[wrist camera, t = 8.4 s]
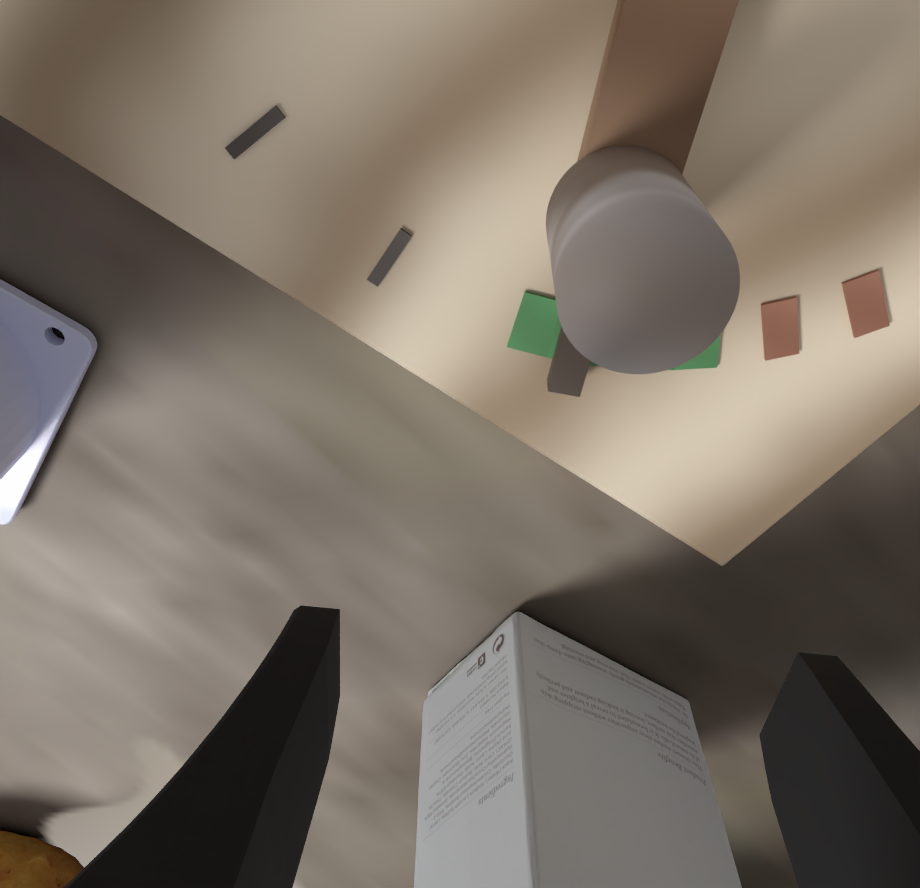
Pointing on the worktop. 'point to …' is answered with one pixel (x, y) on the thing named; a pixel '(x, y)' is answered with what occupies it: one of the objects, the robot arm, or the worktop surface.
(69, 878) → the potato
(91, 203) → the worktop surface
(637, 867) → the skincare box
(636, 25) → the lever
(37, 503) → the worktop surface
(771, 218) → the dial board
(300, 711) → the robot arm
